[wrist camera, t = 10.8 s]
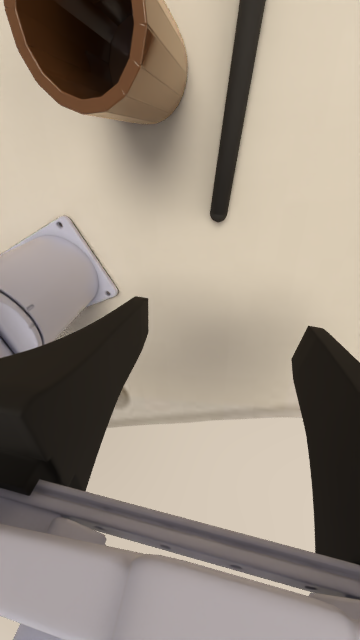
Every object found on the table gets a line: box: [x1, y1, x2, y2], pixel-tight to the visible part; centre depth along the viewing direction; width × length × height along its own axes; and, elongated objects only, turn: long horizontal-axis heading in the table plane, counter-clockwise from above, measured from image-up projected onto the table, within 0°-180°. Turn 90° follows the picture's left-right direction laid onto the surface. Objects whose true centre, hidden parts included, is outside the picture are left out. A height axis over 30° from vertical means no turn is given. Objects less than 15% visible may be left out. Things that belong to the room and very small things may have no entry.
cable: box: [210, 0, 266, 222], centre depth 12 cm, size 19×2×1 cm, turn 175°
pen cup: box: [4, 0, 188, 124], centre depth 11 cm, size 5×5×8 cm
